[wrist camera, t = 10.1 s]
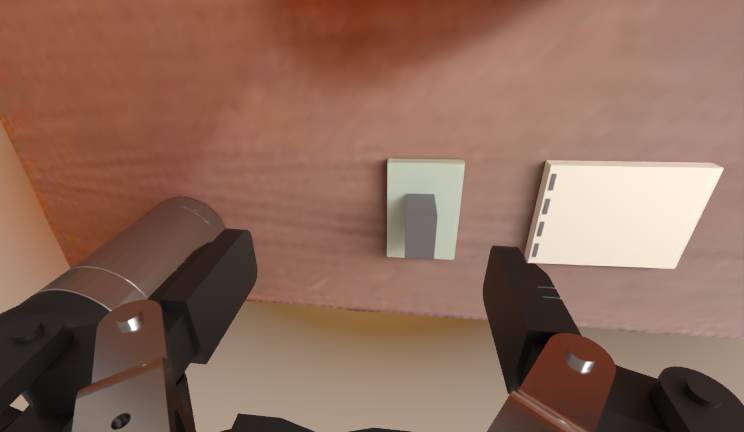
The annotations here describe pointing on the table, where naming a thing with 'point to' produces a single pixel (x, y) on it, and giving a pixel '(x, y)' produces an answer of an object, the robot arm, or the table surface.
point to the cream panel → (618, 212)
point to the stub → (423, 207)
